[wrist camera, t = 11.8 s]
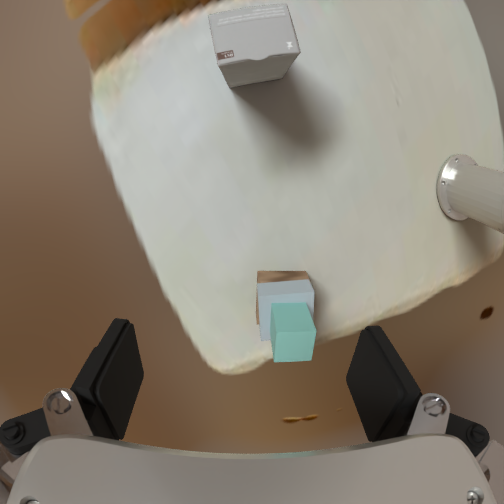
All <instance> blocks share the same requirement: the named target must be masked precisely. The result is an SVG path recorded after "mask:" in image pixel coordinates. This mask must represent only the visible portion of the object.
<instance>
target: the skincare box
mask: <svg viewBox="0 0 504 504" xmlns="http://www.w3.org/2000/svg"><path fill="white" fill-rule="evenodd" d="M208 18H209V23H210V29H211V34H212V39H213V44H214V49H215V54H216V59H217V64H218V66H219V68H220V70H221V72H222V74H223V76H224V78H225V80H226V82H227V84H228V86H229V88H232V87H237V86H242V85H247V84H252V83H258V82H263V81H270V80H276V79H281V78H283V76H284V75H285V73H286V72H287V70H288V69H289V67H290V66H291V65H292V63H293V62H294V60H295V59H296V58H297V56H298V55H299V54H300V53H301V52H300V48H299V44H298V40H297V37H296V33H295V29H294V26H293V23H292V19H291V16H290V13H289V10H288V6H287V4H273V5H263V6H254V7H247V8H240V9H235V10H229V11H224V12H219V13H215V14H210V15H208Z"/></svg>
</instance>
